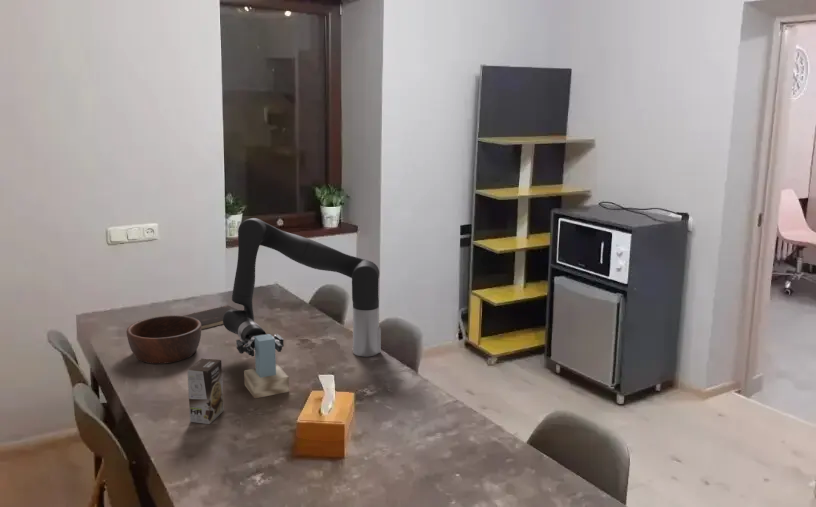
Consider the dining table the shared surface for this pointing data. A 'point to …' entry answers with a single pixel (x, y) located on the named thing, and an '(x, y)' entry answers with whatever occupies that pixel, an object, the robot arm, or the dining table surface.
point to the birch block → (266, 383)
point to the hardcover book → (211, 316)
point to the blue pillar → (265, 355)
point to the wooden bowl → (164, 338)
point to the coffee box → (205, 390)
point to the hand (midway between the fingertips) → (266, 351)
